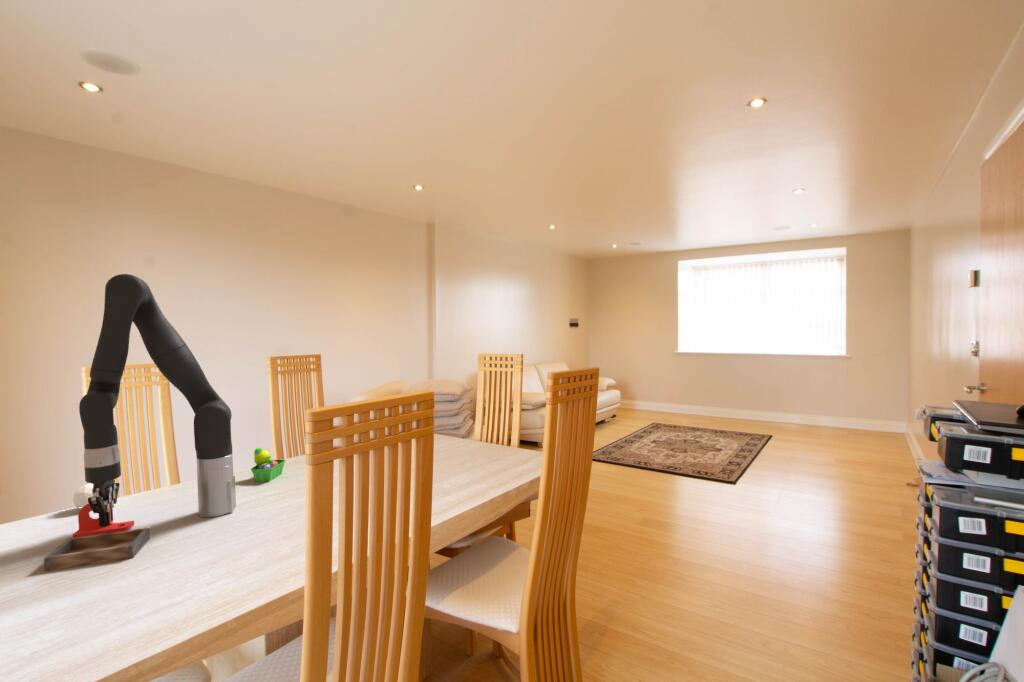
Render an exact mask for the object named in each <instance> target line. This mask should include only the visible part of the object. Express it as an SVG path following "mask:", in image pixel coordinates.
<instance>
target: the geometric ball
mask: <svg viewBox="0 0 1024 682" xmlns="http://www.w3.org/2000/svg"><path fill="white" fill-rule="evenodd" d="M92 489H93V484H92V483H87V484H85V485H82V486H80V487H78V489H77V490H76V491H75V492H74V493H73V499H72V501H73V504H74V506H75V507H76V508H77V509H79V510H81V509H82V508H83V507H84V506H85V505H87V504H88V498H89V497H93V495H92ZM79 507H82V508H79Z"/></svg>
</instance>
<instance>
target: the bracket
mask: <svg viewBox="0 0 1024 682" xmlns="http://www.w3.org/2000/svg"><path fill="white" fill-rule="evenodd" d="M91 511H92V509H91V507H90V505H89V503H88V504H87V505H85V506H84V507H83V508H82V509H79V512H78V514H77V515H78V517H77V520H78V521H77V522H78V529H77V530H76V531H75V532H74V533H72V538H76V537H84V536H91V535H99V534H106V533H114V532H121V531H129V530H131V528H132V527H134V525H135V520H129V521H121V522H113V521H111V510H109V511H110V524H109V525H107V526H100V525H99V517H97V518H94V517H93V518H92V517H91V516H90V512H91Z"/></svg>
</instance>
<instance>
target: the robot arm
mask: <svg viewBox="0 0 1024 682" xmlns="http://www.w3.org/2000/svg"><path fill="white" fill-rule="evenodd" d="M149 286H150V285H148V283H147V282H145V281H144V280H143V279H141V278H139V277H138V276H136V275H133V274H129V273H121V274H117V275H114V276H113V277H111V278H109V279H108V280H107V281H106V284H105V286H104V287H105V288H104V289H105V290H104V303H103V304H104V305H103V306H104V307H103V308H104V309H103V315H102V316H103V317H102V324H101V329H100V333H99V337H98V340H97V345H96V348H95V351H94V355H93V357H92V358H93V359H92V363H91V366H90V371H89V377H90V382H89V385H88V389H87V391H86V394H85V395H84V396H83V397H81V400H80V402H79V404H78V405H79V406H78V408H79V409H78V410H79V412H78V413H79V418H80V421H81V426H82V428H83V449H84V452H83V465H84V480H85V483H87V484H93V489H92V495H93V497H89V498H88V503H89V505H90V507H91V509H92V510H91V511H92V512H93V514H98V518H99V525H100V526H107V525H109V524H110V511H109V510H111V521H112V522H113V521H114V512H113V511H114V507H115V505H116V504H117V502H118V496H119V491H120V490H119V489H120V485H121V484H120V482H116V481H115V480H117V479H118V478H120V477H121V476H122V467H121V452H120V451H121V450H120V447H119V440H118V439H119V438H118V428H117V425H115V421H114V417H115V416H114V409H115V407H116V406H117V402H118V400H119V394H120V390H121V381H122V377H123V375H124V371H125V369H126V364H127V360H128V355H129V348H130V347H129V346H130V336H131V329H132V325H133V324H134V325H135V327H136V329H137V330H138V332H139V335H140V337H141V340H142V342H143V345H144V347H145V349H146V351H147V353H148V356H150V359H151V361H152V362H153V363H154V364H155V366H156V367H157V369H158V370H159V372H160V373H161V374H162V375H163V376H164V377H165V378H166V380H167V381H168V382H170V384H171V385H173V387H175V388H176V389H177V390H178V391H179V392H180V393H181V394H182V395H183V396H184V397H185V399H186V401H187V402H188V403H189V406H190V408H191V410H192V411H193V413H194V417H193V436H194V448H195V455H196V479H197V480H196V481H197V500H198V501H197V503H198V516H199V517H202V518H213V517H214V518H215V517H220V516H223V515H227V514H231V513H233V512H234V510H235V508H236V506H237V497H236V476H235V475H234V464H233V463H234V461H233V459H234V458H233V443H232V429H231V427H232V424H231V421H232V411H231V409H230V406H229V405H228V404H227V403H226V402H225V401H224V400H223V398H222V397H221V396H220V395H219V394H218V392H216V390H215V389H214V388H213V386H212V385H211V383H210V382H209V380H208V378H207V377H206V374H205V372H204V371H203V369H202V367H201V366H200V364H199V361H197V359H196V357H195V355H194V353H193V352H192V350H191V349H190V347H189V346H188V344H187V343H186V342H185V340H184V339H183V338H182V336H181V334H179V333H178V331H177V330H176V328H175V327H174V326H173V325H172V324H171V322H170V321H169V320H168V319H167V318H166V316H165V315H164V313H163V311H162V310H161V307H159V305H158V303H157V301H156V299H155V296H154V294H153V292H152V291H151V288H150V287H149Z"/></svg>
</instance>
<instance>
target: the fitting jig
mask: <svg viewBox="0 0 1024 682" xmlns="http://www.w3.org/2000/svg"><path fill="white" fill-rule="evenodd" d="M150 539H151V534H150V527H145V528H138V529H137V528H136V529H129V530H128V531H121V532H114V533H106V534H99V535H91V536H84V537H76V538H73V537H69V538H68V539H66V540H65V541H64V542H63V543H62V544H60V545H59V546H58V547H56V548H55V549H54V550H53V551H51V552H50V553H49V554H47V555H46V556H44V557H43V565H44V568H43V569H44V572H49V571H54V570H55V571H56V570H62V569H67V568H68V569H69V568H74V567H81V566H87V565H93V564H101V563H107V562H114V561H120V560H121V561H122V560H129V559H134V557H136V555H137V554H139V552H140V551H141V550H142V548H143V547H144V546H145V545H146V544H147V543H148V542H149V540H150Z"/></svg>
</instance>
